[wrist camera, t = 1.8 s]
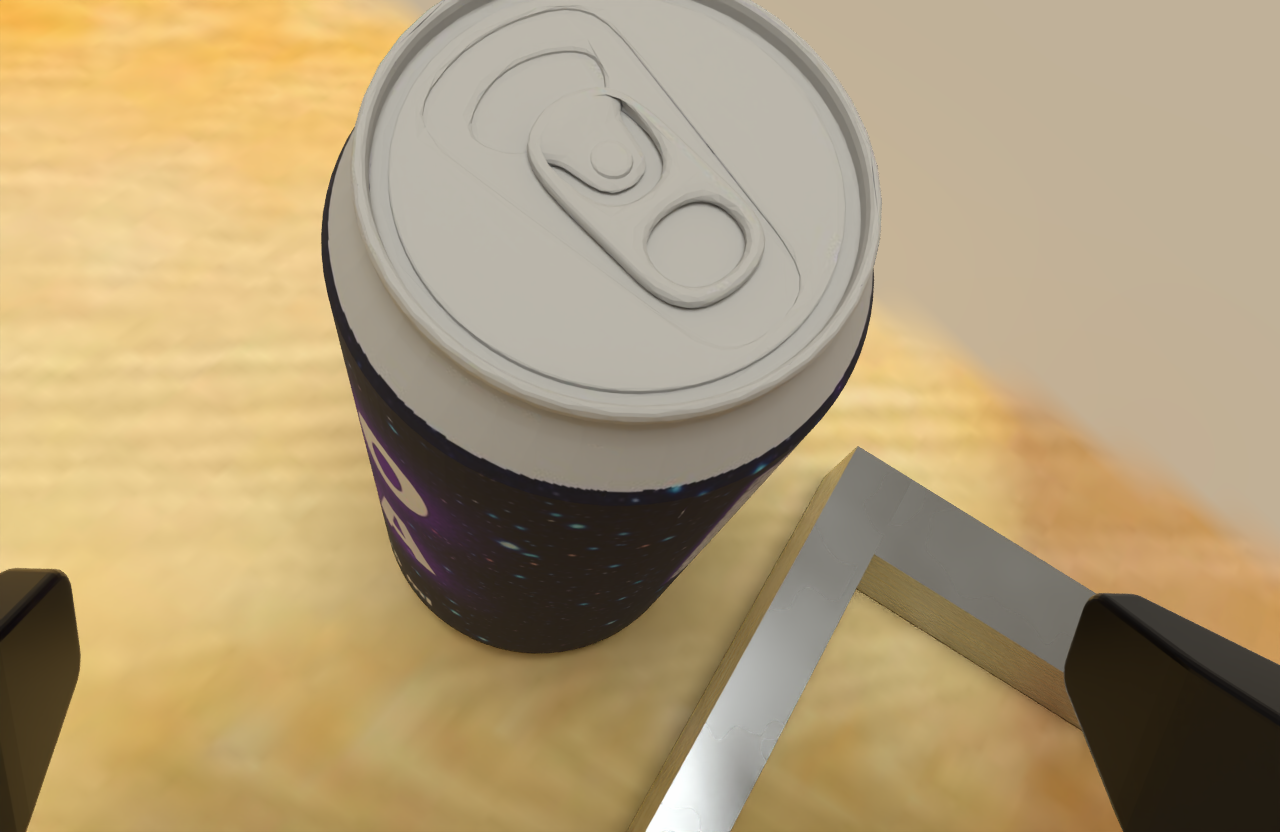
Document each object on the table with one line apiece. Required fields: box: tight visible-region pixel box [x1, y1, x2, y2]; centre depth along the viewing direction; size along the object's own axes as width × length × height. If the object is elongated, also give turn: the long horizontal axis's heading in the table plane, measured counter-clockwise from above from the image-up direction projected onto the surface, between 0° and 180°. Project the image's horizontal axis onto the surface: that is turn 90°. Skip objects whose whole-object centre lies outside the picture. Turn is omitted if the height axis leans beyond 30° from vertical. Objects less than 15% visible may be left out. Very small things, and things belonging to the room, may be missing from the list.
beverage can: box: [321, 0, 882, 653], centre depth 15 cm, size 6×6×12 cm
